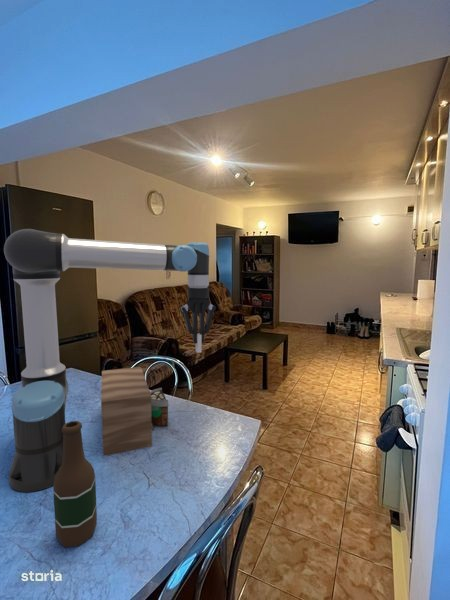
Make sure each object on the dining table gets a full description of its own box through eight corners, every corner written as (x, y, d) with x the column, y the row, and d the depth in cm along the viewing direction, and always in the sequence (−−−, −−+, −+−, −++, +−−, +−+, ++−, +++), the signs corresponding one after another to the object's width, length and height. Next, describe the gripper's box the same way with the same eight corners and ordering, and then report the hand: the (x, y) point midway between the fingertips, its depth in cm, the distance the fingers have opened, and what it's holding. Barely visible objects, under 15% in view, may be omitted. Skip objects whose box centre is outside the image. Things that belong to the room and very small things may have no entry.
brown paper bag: (151, 446, 96) (150, 395, 94) (103, 456, 91) (101, 402, 89) (141, 407, 122) (140, 366, 120) (103, 413, 117) (101, 370, 115)
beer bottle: (99, 538, 64) (95, 428, 61) (56, 556, 60) (49, 438, 57) (94, 512, 70) (90, 411, 68) (55, 526, 67) (49, 420, 64)
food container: (145, 415, 116) (144, 389, 115) (161, 412, 118) (161, 387, 117) (150, 431, 104) (149, 403, 103) (168, 428, 107) (168, 400, 106)
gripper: (212, 285, 116) (212, 347, 119) (177, 286, 112) (178, 350, 114) (219, 287, 109) (218, 352, 112) (182, 288, 105) (183, 356, 107)
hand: (198, 351), depth 113 cm, fingers closed
